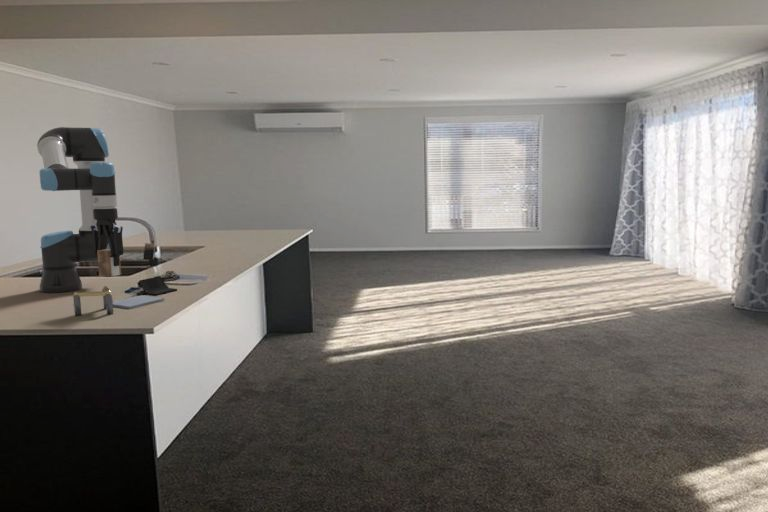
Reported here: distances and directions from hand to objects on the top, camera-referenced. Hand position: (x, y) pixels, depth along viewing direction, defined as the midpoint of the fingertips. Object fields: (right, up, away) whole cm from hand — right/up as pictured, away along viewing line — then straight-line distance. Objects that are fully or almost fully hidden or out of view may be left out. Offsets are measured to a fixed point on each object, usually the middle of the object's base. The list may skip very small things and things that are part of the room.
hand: (110, 274), depth 207 cm
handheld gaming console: (+6, -8, +28) cm, 29 cm away
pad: (+6, -11, +8) cm, 15 cm away
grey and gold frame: (0, -13, -7) cm, 14 cm away
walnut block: (0, 0, 0) cm, 0 cm away
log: (-1, -5, +55) cm, 56 cm away
